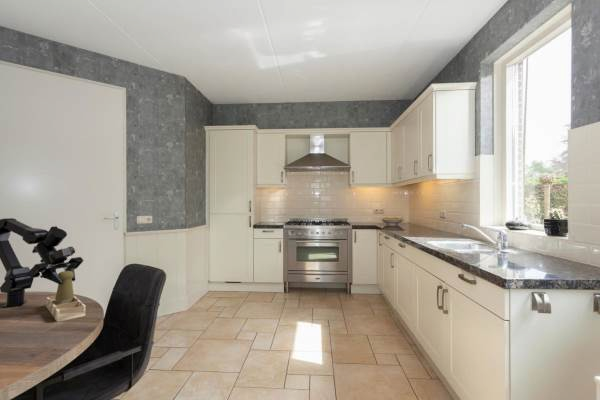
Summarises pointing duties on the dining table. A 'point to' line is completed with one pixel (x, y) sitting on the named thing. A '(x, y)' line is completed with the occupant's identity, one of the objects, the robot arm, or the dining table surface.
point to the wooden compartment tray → (65, 308)
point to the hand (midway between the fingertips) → (68, 282)
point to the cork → (65, 286)
